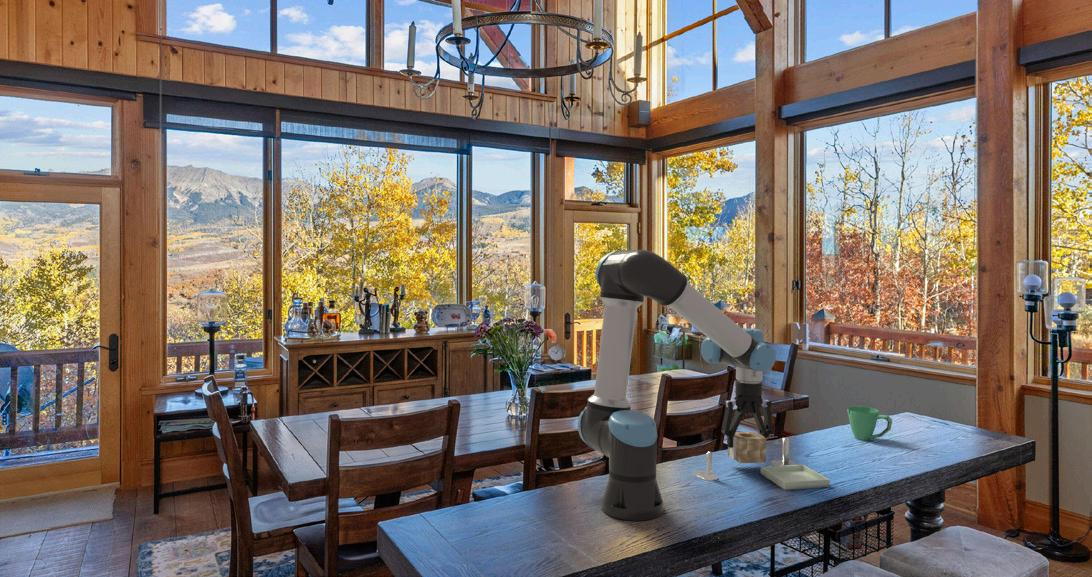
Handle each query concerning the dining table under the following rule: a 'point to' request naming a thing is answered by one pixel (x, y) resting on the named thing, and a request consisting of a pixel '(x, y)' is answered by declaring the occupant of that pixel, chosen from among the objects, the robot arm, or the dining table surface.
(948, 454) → the dining table surface
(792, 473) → the tray
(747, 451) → the bored block
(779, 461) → the gauge post
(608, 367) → the robot arm
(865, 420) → the mug
